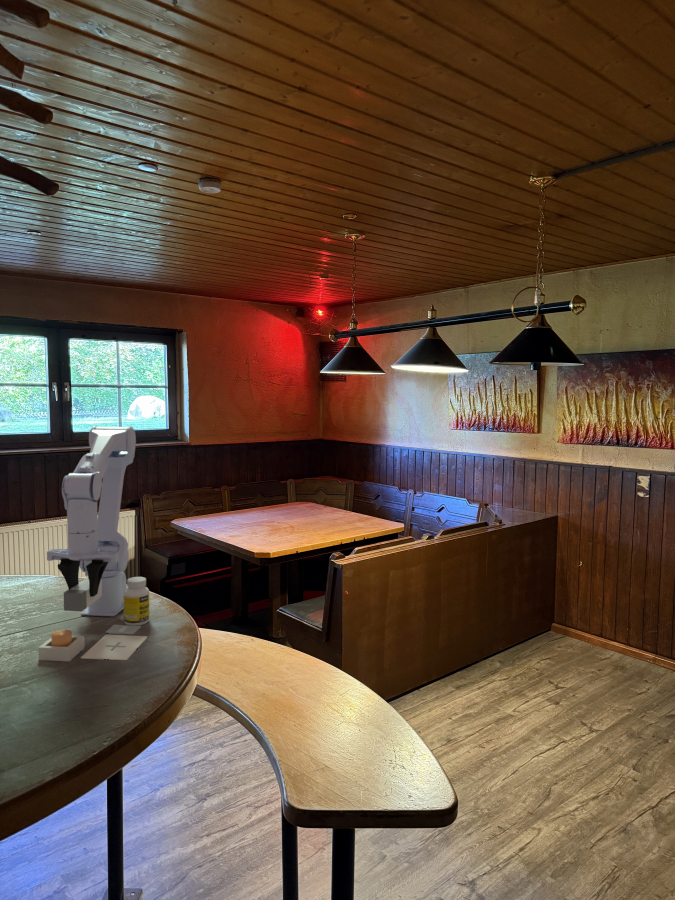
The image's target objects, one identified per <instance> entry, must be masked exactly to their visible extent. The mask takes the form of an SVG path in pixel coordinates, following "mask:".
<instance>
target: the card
mask: <svg viewBox="0 0 675 900" xmlns="http://www.w3.org/2000/svg"><path fill="white" fill-rule="evenodd" d="M139 629H141V625H138V626H130V625H126V624H122V625H121V624H113V625H111V627H110V628H108V629H107V630H106V631H105V634H106V633H109V634H108V635H128V636H134V634H136V633H137V632H138V630H139Z"/></svg>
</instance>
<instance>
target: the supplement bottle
mask: <svg viewBox="0 0 675 900" xmlns="http://www.w3.org/2000/svg"><path fill="white" fill-rule="evenodd" d="M149 621H150V589H149V588H148V587H147V578H146V577H143V576H134V577H129V578H128V579H126V590H125V591H124V608H123V623H124V625H128V626H143V625H145V624H147V623H148V622H149Z"/></svg>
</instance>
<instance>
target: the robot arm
mask: <svg viewBox="0 0 675 900" xmlns="http://www.w3.org/2000/svg"><path fill="white" fill-rule="evenodd" d="M88 445H89V449H90V450H89V452H88V453H86V454H84V455H83V456H82V457H81V458H80V459H79V462H78V464H77V465H76V467H75V469H74V470H73V472H69V473H68V474H67V475H64V477H63V479H62V484H61V495H62V498H63V503H64V504H63V505H64V506H63V507H64V509H65V510H66V519H67V521H66V523H67V524H66V525H67V548H58V549H57V548H56V549H55V548H52V549H49V550H47V551H46V560H47V561H48V562H49V561H60V562H59V563H58V564H57V569H58V570H59V572H60V573H61V575H62V576H63V579H64V580H65V582H66V585H67V588H68V590H70V589H71V588H73V587H74V586H76V585H77V584H79V583H80V582H79V576H80V575H79V574H80V572H79V571H80V570H81V571H82V572H83V573H84V576H85V577H87V579H89V593H90V597H94V596H95V595H96V594H98V588H99V584H100V580H102V597H100V598H99V599H98V600H96V601H95V602H94V603H92V604H91V605H90V606H88V607H87V608H86V609H84V610H83V611H80V615H82V616H96V617H97V616H98V617H115V616H116V615H118V614H119V613H120V612H121V611H122V610H124V591H125V590H126V589H127V575H126V574H125V570H126V569H127V566H128V563H129V542H128V540H127V538H126V537H125V536H124V535H123V534H121V533H120V532H118V531H119V530H118V529H119V522H120V521H119V520H120V512H121V503H122V494H123V486H124V478H125V477H124V476H125V474H126V469H127V466H128V465H131V464H132V463H133V462H134V459H135V452H136V445H137V437H136V430H135V429H134V427H133V426H131V425H130V426H98V425H93V426H92V427H91V428H90V429H89V433H88ZM98 501H99V506H98Z"/></svg>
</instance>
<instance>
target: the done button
mask: <svg viewBox="0 0 675 900" xmlns="http://www.w3.org/2000/svg"><path fill="white" fill-rule="evenodd" d="M72 632H73V631H72V630H70V629H59V630H56V631H53V632H52V633H51V634H50V635H51V637H50V638H51V640H52V646H58V647H68V646H69V645H70V644H71V643H72V636H73V635H72Z"/></svg>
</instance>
